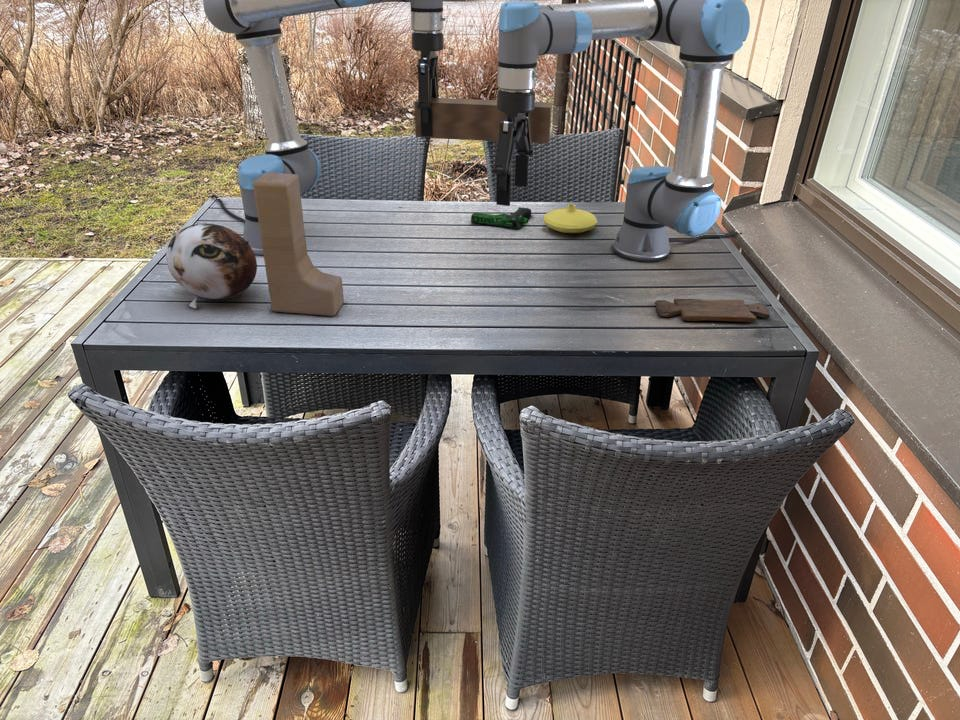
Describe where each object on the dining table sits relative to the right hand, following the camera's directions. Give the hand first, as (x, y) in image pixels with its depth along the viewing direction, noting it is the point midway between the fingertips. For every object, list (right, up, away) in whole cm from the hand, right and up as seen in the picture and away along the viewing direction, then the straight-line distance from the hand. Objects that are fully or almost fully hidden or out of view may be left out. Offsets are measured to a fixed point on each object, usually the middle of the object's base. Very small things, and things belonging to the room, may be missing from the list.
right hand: (512, 195), depth 151 cm
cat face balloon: (-69, -20, +18) cm, 74 cm away
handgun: (0, +7, +66) cm, 66 cm away
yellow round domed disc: (+20, +4, +60) cm, 63 cm away
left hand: (-19, +22, +28) cm, 41 cm away
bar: (-6, +21, +27) cm, 34 cm away
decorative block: (-46, -23, +13) cm, 53 cm away
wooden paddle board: (+47, -24, +14) cm, 55 cm away
